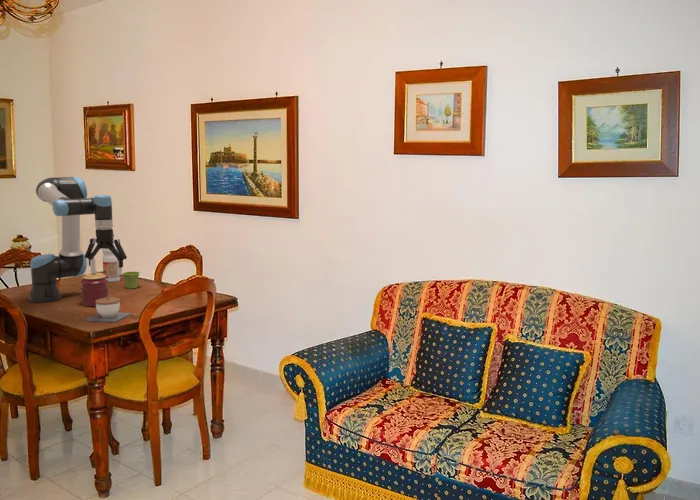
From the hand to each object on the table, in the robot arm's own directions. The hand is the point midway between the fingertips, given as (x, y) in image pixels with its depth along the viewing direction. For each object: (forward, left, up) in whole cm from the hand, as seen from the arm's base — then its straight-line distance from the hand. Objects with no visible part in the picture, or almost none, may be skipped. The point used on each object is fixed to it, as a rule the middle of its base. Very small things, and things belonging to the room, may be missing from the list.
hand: (106, 273), depth 297 cm
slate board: (+1, -1, -21) cm, 21 cm away
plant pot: (-23, +62, -21) cm, 69 cm away
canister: (-21, +23, -21) cm, 37 cm away
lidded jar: (+1, -1, -20) cm, 20 cm away
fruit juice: (-45, +78, -21) cm, 92 cm away
